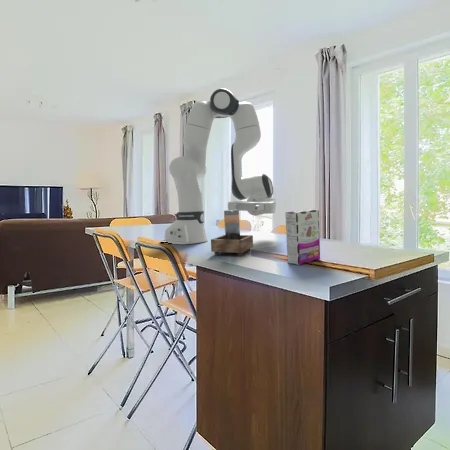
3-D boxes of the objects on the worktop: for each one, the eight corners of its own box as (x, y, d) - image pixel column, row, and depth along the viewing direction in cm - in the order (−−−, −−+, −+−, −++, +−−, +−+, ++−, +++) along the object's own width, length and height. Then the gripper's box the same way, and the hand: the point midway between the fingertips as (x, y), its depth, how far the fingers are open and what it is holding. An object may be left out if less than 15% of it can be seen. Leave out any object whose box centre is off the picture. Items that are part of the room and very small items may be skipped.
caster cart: (211, 255, 131) (210, 239, 130) (224, 249, 142) (223, 234, 141) (242, 257, 126) (241, 240, 126) (253, 250, 137) (252, 235, 137)
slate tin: (223, 246, 132) (221, 211, 131) (229, 243, 138) (227, 210, 136) (237, 246, 130) (235, 210, 129) (242, 244, 135) (241, 209, 134)
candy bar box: (308, 257, 120) (307, 209, 119) (320, 259, 117) (319, 209, 115) (286, 263, 113) (284, 211, 112) (298, 265, 109) (297, 212, 108)
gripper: (234, 197, 161) (221, 199, 148) (278, 198, 153) (269, 199, 140) (234, 211, 162) (221, 214, 149) (278, 213, 154) (269, 216, 141)
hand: (245, 207), depth 145 cm, fingers open, 8 cm apart
